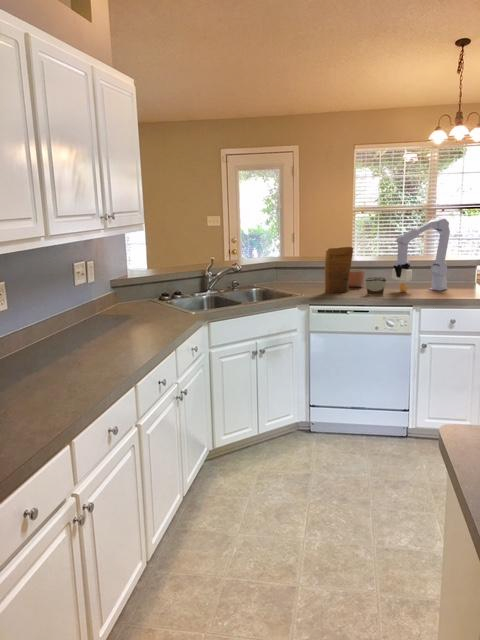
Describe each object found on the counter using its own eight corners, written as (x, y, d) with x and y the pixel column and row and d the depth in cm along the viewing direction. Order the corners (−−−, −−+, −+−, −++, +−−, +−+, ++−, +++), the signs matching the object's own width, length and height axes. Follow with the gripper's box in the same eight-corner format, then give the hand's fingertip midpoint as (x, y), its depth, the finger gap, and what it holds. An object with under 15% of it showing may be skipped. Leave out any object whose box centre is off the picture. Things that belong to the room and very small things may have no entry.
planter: (352, 288, 335) (353, 272, 333) (341, 286, 346) (341, 269, 344) (368, 287, 340) (368, 270, 338) (356, 284, 351) (357, 268, 349)
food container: (383, 293, 318) (384, 276, 315) (385, 294, 312) (386, 278, 309) (363, 293, 319) (364, 277, 317) (364, 294, 313) (365, 278, 311)
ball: (405, 281, 321) (410, 287, 319) (400, 287, 324) (405, 293, 322) (401, 282, 318) (406, 288, 316) (396, 288, 321) (401, 294, 319)
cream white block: (397, 278, 326) (397, 268, 324) (411, 280, 319) (412, 269, 317) (391, 279, 322) (392, 268, 320) (406, 281, 315) (407, 270, 313)
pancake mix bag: (354, 292, 322) (355, 247, 316) (325, 294, 318) (326, 248, 311) (349, 290, 328) (350, 246, 322) (321, 292, 324) (322, 247, 318)
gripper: (401, 255, 309) (400, 278, 312) (414, 253, 319) (413, 275, 322) (391, 255, 314) (390, 277, 317) (404, 253, 324) (403, 274, 327)
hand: (401, 276), depth 320 cm, fingers closed on cream white block, 6 cm apart
